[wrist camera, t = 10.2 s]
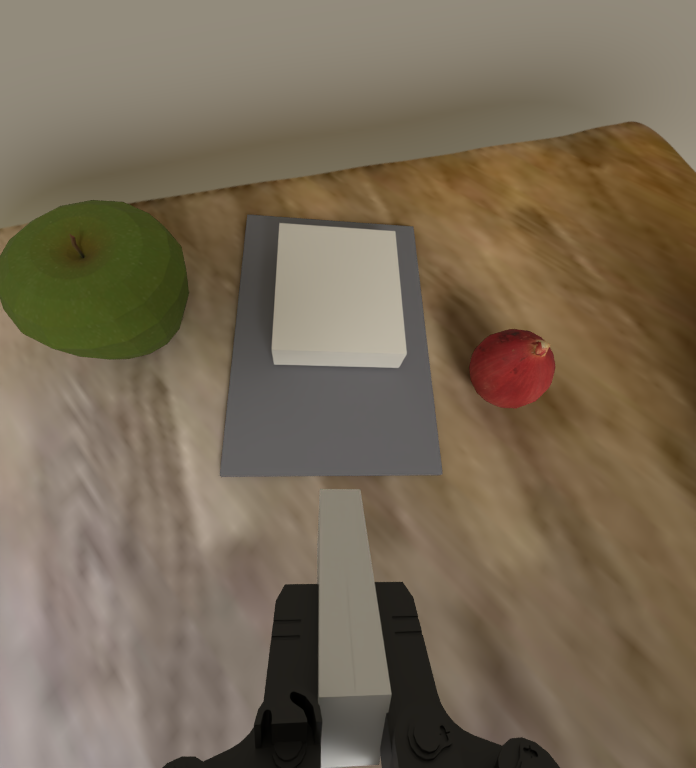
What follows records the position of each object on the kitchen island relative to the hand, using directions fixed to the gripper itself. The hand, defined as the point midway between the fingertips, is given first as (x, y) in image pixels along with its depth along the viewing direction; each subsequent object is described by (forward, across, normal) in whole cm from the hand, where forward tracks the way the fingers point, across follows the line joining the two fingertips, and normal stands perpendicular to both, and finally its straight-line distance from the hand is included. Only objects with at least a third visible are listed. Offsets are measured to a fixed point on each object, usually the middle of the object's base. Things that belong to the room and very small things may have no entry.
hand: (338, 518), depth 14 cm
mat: (+20, 0, +2) cm, 20 cm away
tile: (+16, +1, +1) cm, 16 cm away
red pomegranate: (+17, +14, -1) cm, 22 cm away
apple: (+19, -15, +2) cm, 25 cm away
